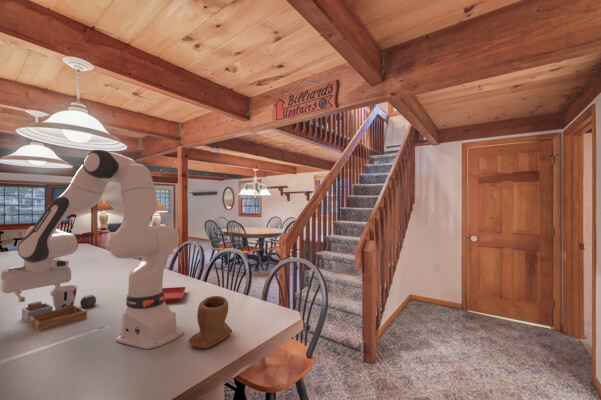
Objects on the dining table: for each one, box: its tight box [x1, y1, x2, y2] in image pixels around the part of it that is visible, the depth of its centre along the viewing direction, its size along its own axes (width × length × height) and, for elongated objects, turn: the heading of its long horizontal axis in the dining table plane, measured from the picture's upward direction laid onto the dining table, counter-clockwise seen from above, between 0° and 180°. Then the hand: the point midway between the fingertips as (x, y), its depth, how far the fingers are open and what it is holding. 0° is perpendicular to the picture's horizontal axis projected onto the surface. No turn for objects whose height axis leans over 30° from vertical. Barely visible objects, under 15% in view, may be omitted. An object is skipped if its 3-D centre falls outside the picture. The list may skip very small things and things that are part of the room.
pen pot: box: [21, 302, 54, 324], centre depth 107 cm, size 7×7×5 cm
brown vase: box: [188, 295, 233, 349], centre depth 93 cm, size 15×12×15 cm
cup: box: [51, 284, 78, 310], centre depth 117 cm, size 8×8×10 cm
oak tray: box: [27, 304, 88, 332], centre depth 105 cm, size 11×14×4 cm
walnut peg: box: [27, 301, 43, 311], centre depth 106 cm, size 4×4×6 cm
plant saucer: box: [162, 286, 187, 304], centre depth 134 cm, size 18×18×3 cm
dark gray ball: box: [79, 294, 97, 309], centre depth 120 cm, size 6×6×6 cm
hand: (38, 298), depth 107 cm, fingers open, 8 cm apart
